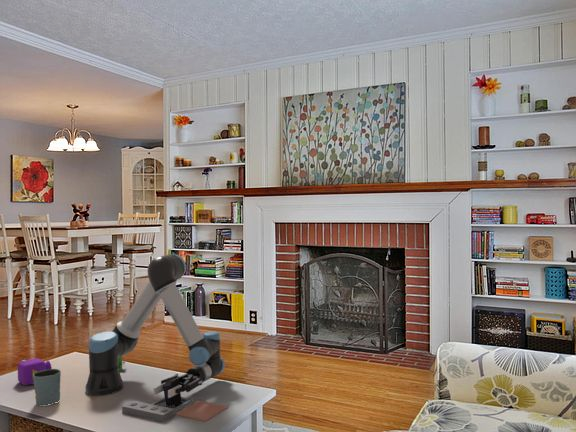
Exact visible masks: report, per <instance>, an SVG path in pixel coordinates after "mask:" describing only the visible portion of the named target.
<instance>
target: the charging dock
mask: <svg viewBox="0 0 576 432" xmlns="http://www.w3.org/2000/svg"><path fill="white" fill-rule="evenodd" d="M181 399H182V404H181V405H179V406H177V407H176V408H174V407H173V408H171V407H168V406H163V405H161V406H160V405H159V404H161V403H164V402H165V396H164V397H162V398H161V399H158V400H156V401H154V402H152V403H146V402H142V401H137V400H132V401H130V402H128V403H126V404H124V405H122V406H121V413H122V414H125V415H130V416H135V417H140V418H143V419H148V420H153V421H158V422H162V423H164V422H166V421H168V420H170V419H171V418H173V417H174V416H175V413H177V412H179V411H181V410H182V409H184V408H186V407H188V406H189V405H191V404H193V403H194V400H193V399H191V398H186V397H182V396H181Z"/></svg>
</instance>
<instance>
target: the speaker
mask: <svg viewBox="0 0 576 432" xmlns="http://www.w3.org/2000/svg"><path fill="white" fill-rule="evenodd" d="M178 385H179V379H178V378H177V379H175V380H174V381H171V382H167V383H165V384H163V389H164V391H163V393H164V397H165V401H164V402H165V407H173V409H174V408H176V407H177V406H179V405H181V404H183V401H182V399H181V397H182V392H180V393H178V394H176V395H174V396H172V397H170V398H168V390H170V389H172V388H174V387H176V386H178Z"/></svg>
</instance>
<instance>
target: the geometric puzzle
mask: <svg viewBox="0 0 576 432" xmlns="http://www.w3.org/2000/svg"><path fill="white" fill-rule="evenodd" d="M125 364H126V362H125V360H124V358H123V356H121V357H120V358H118V370H119V371H123V366H125Z"/></svg>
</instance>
